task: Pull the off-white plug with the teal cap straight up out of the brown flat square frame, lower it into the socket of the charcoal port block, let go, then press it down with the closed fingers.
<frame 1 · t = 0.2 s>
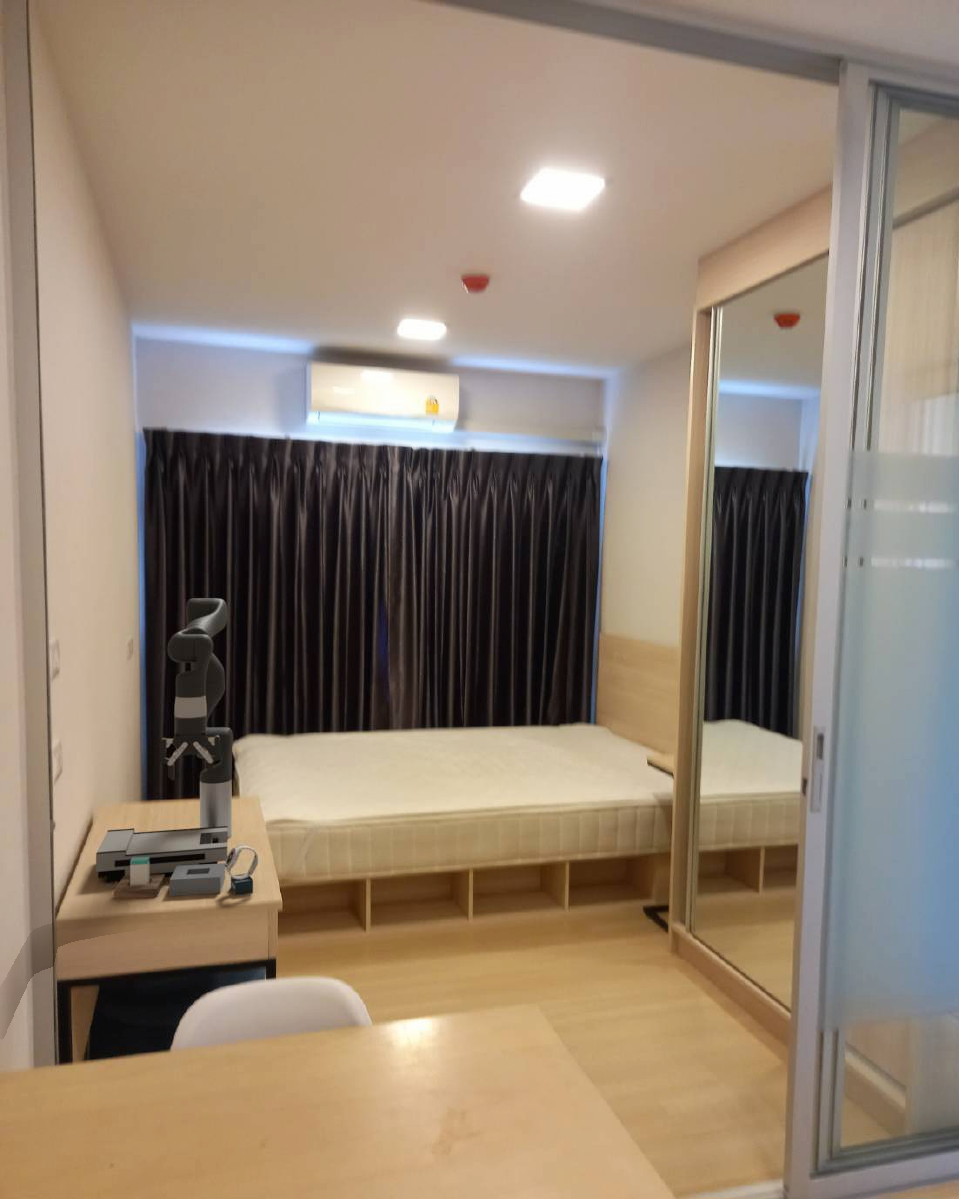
hand: (190, 778, 205), 28 cm above the table, tool pointing down, fingers open, 8 cm apart
plug: (139, 874, 205), in the brown flat square frame
brown flat square frame: (139, 890, 206), on the table
game console: (166, 867, 224), on the table
port block: (198, 886, 208), on the table
watch: (241, 891, 206), on the table
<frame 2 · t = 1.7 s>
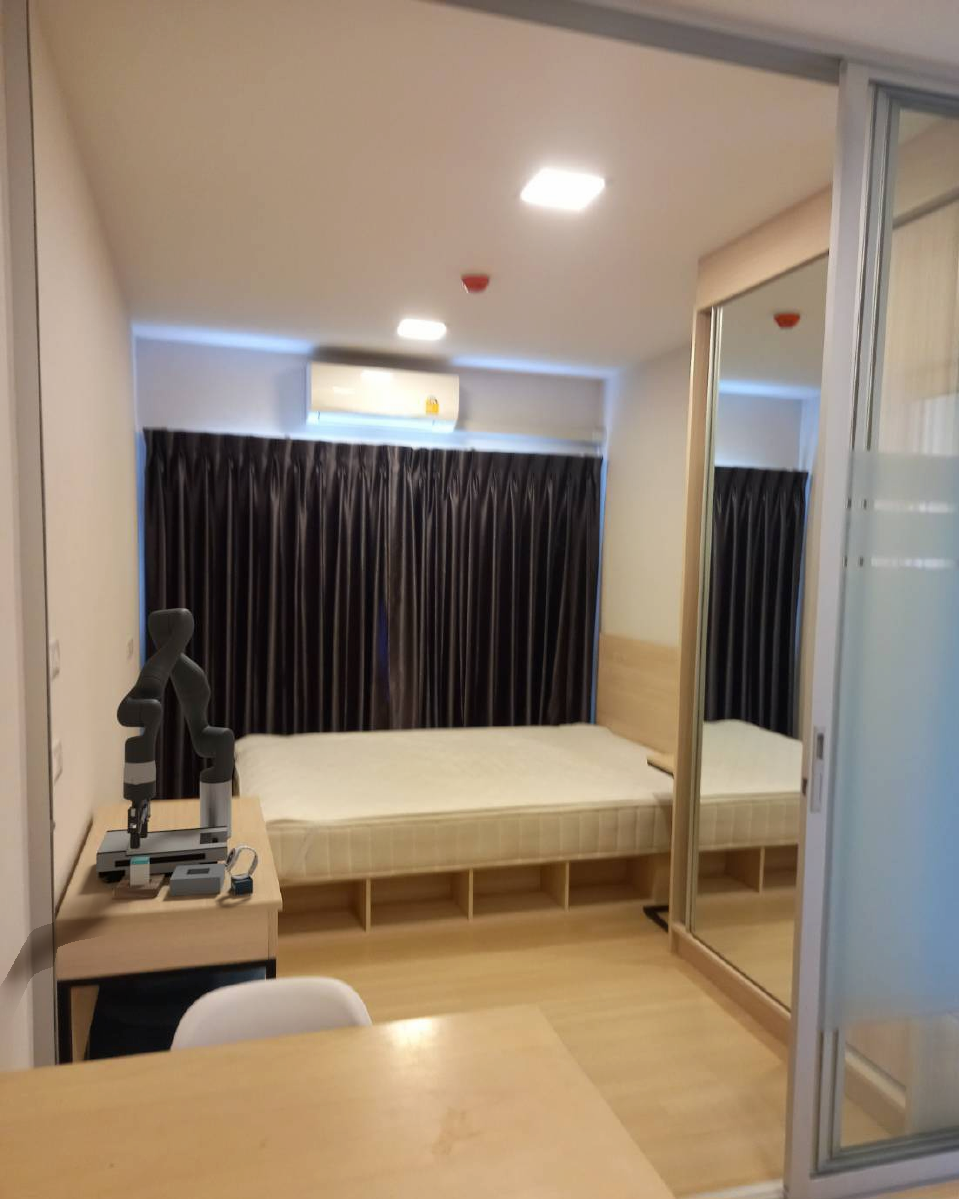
hand: (139, 843, 205), 12 cm above the table, tool pointing down, fingers open, 8 cm apart
nothing on the table moved.
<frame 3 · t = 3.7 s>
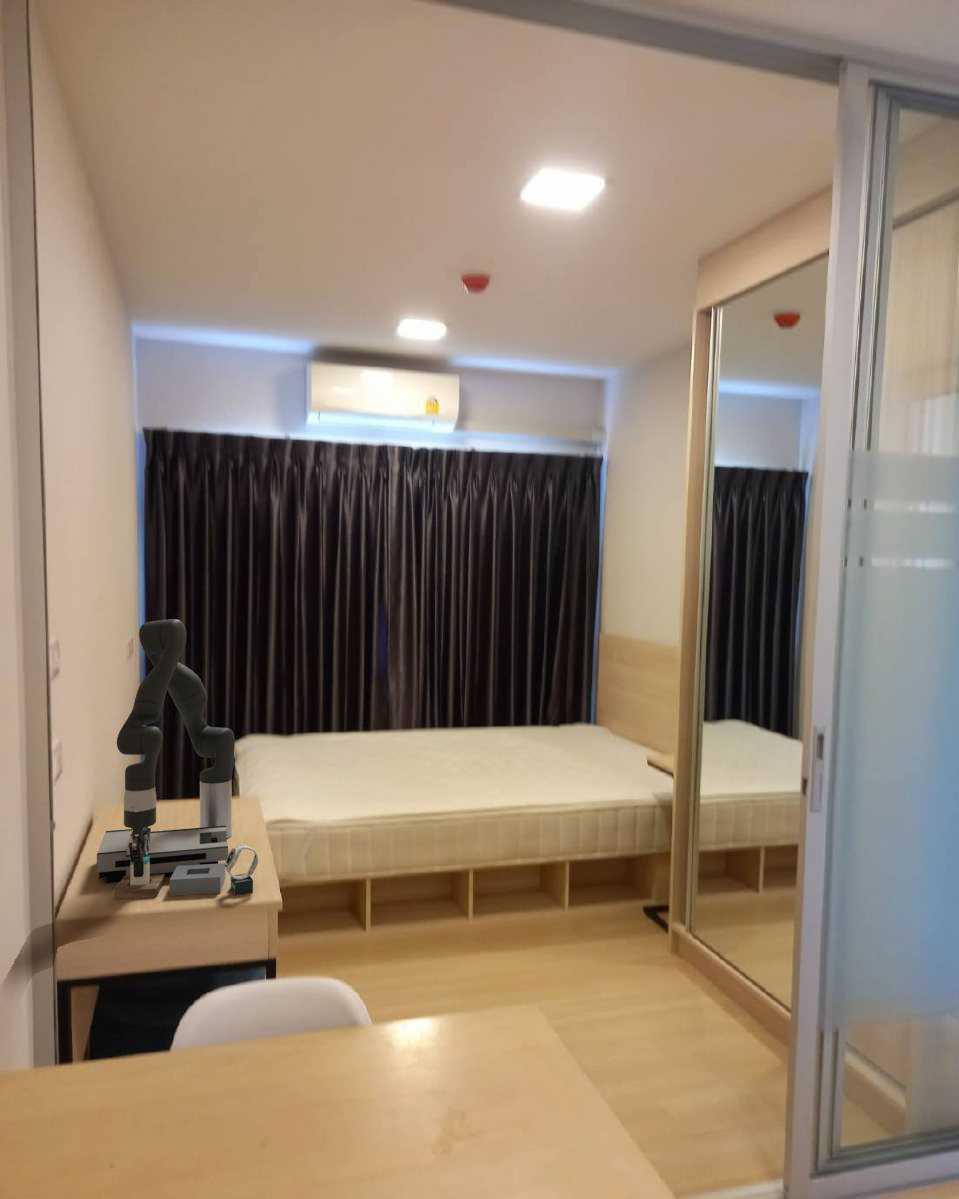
hand: (140, 874, 205), 4 cm above the table, tool pointing down, fingers closed on plug, 2 cm apart
plug: (140, 874, 205), in the brown flat square frame, touching gripper
everything else where it was.
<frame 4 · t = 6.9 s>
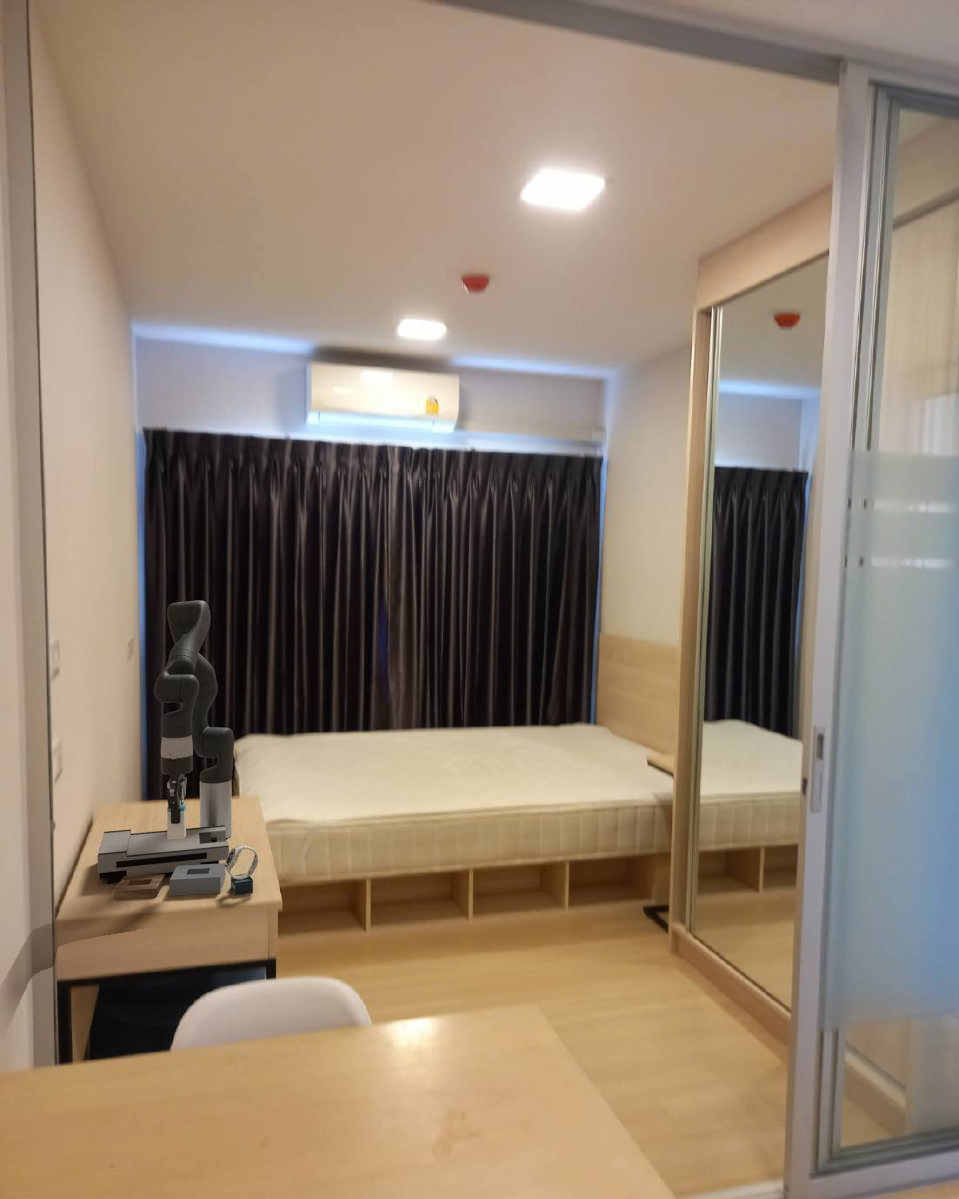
hand: (176, 821, 207), 17 cm above the table, tool pointing down, fingers closed on plug, 2 cm apart
plug: (176, 821, 207), point 17 cm above the table, touching gripper
everything else where it was.
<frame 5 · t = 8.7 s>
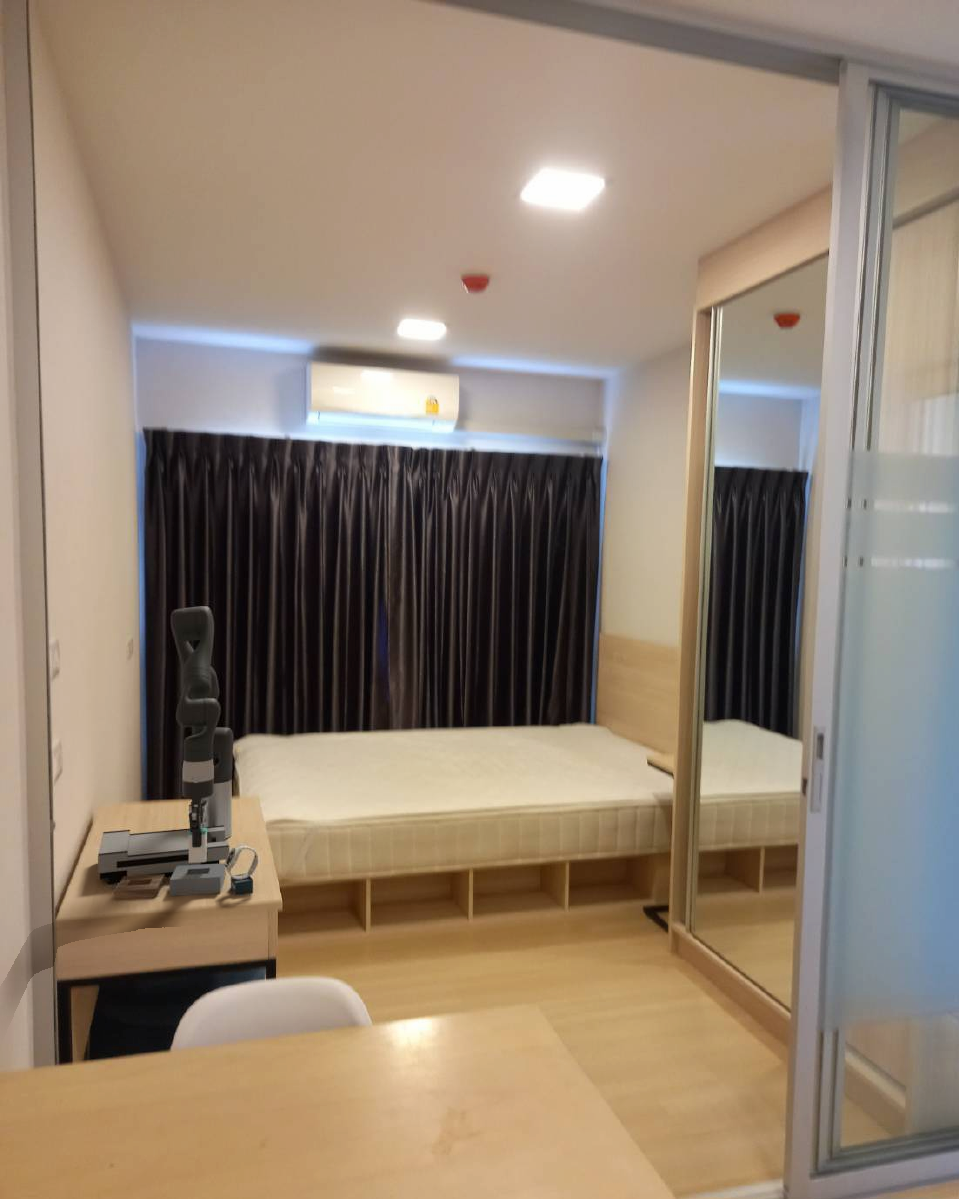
hand: (197, 844, 208), 11 cm above the table, tool pointing down, fingers closed on plug, 2 cm apart
plug: (197, 845, 208), point 11 cm above the table, touching gripper
everything else where it was.
when the fingers open (6 cm above the table, at t = 10.1 s): plug drops 2 cm, resting in port block.
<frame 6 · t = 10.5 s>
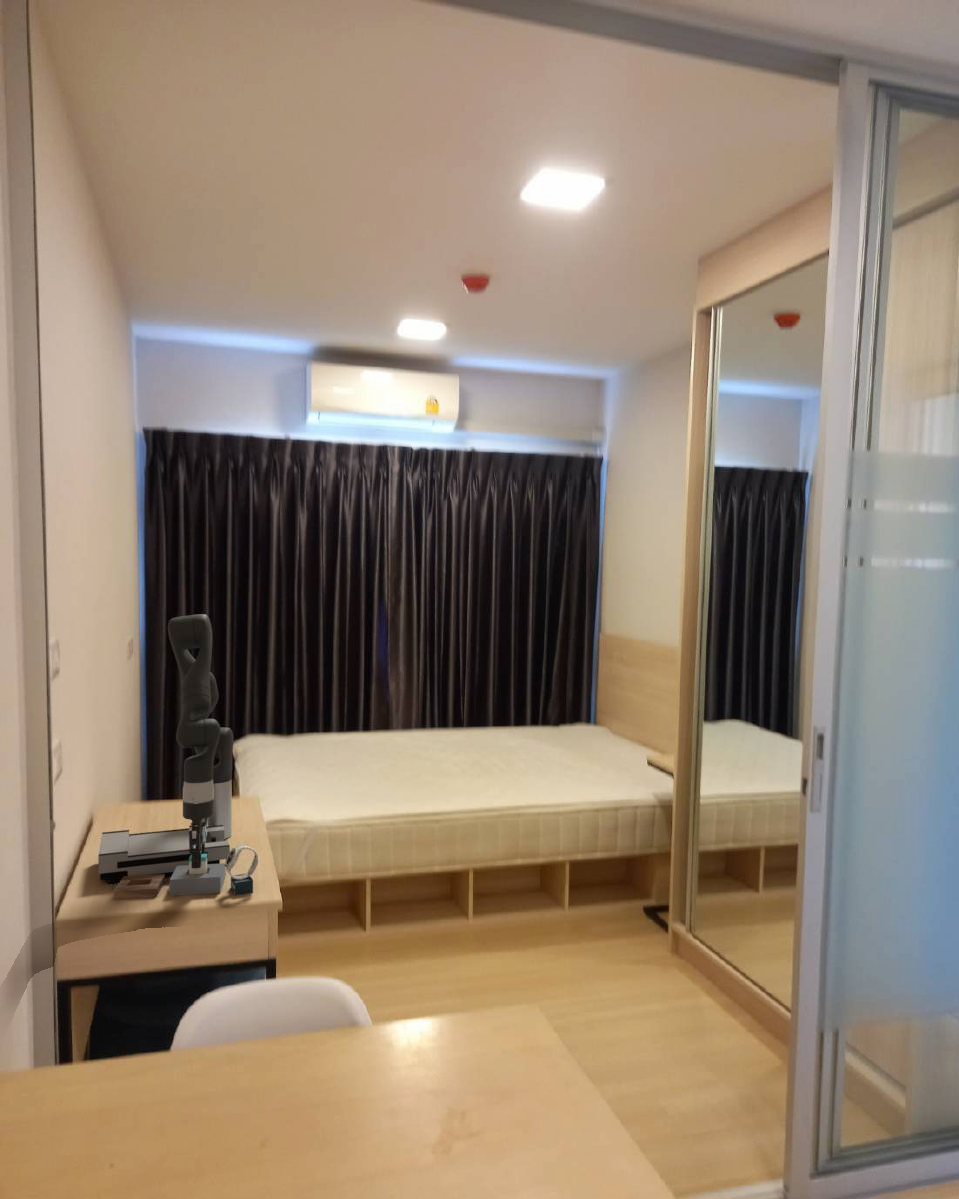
hand: (198, 863, 208), 6 cm above the table, tool pointing down, fingers open, 6 cm apart
plug: (198, 871, 208), in the port block
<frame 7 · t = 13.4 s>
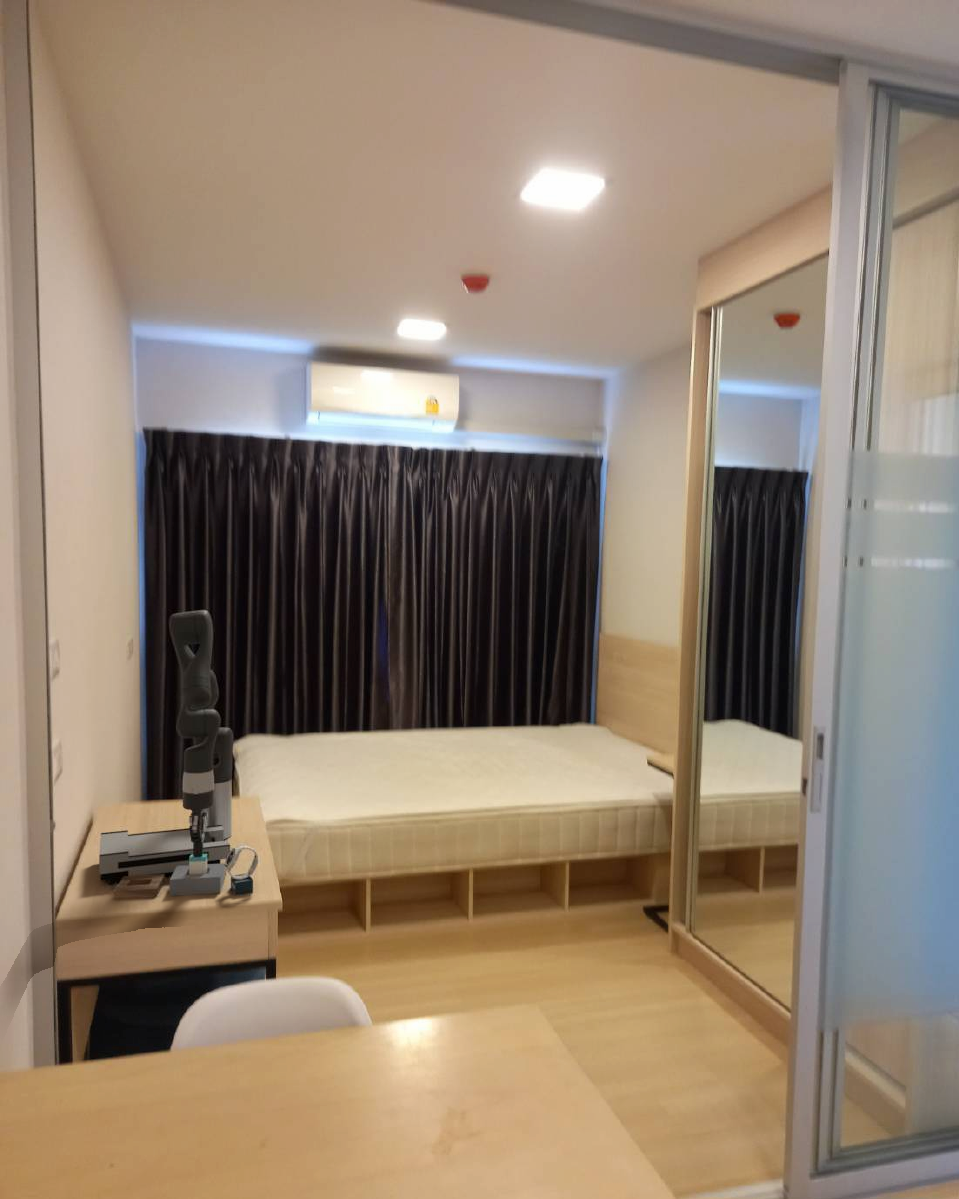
hand: (198, 855, 208), 8 cm above the table, tool pointing down, fingers closed
plug: (198, 871, 208), in the port block, touching gripper
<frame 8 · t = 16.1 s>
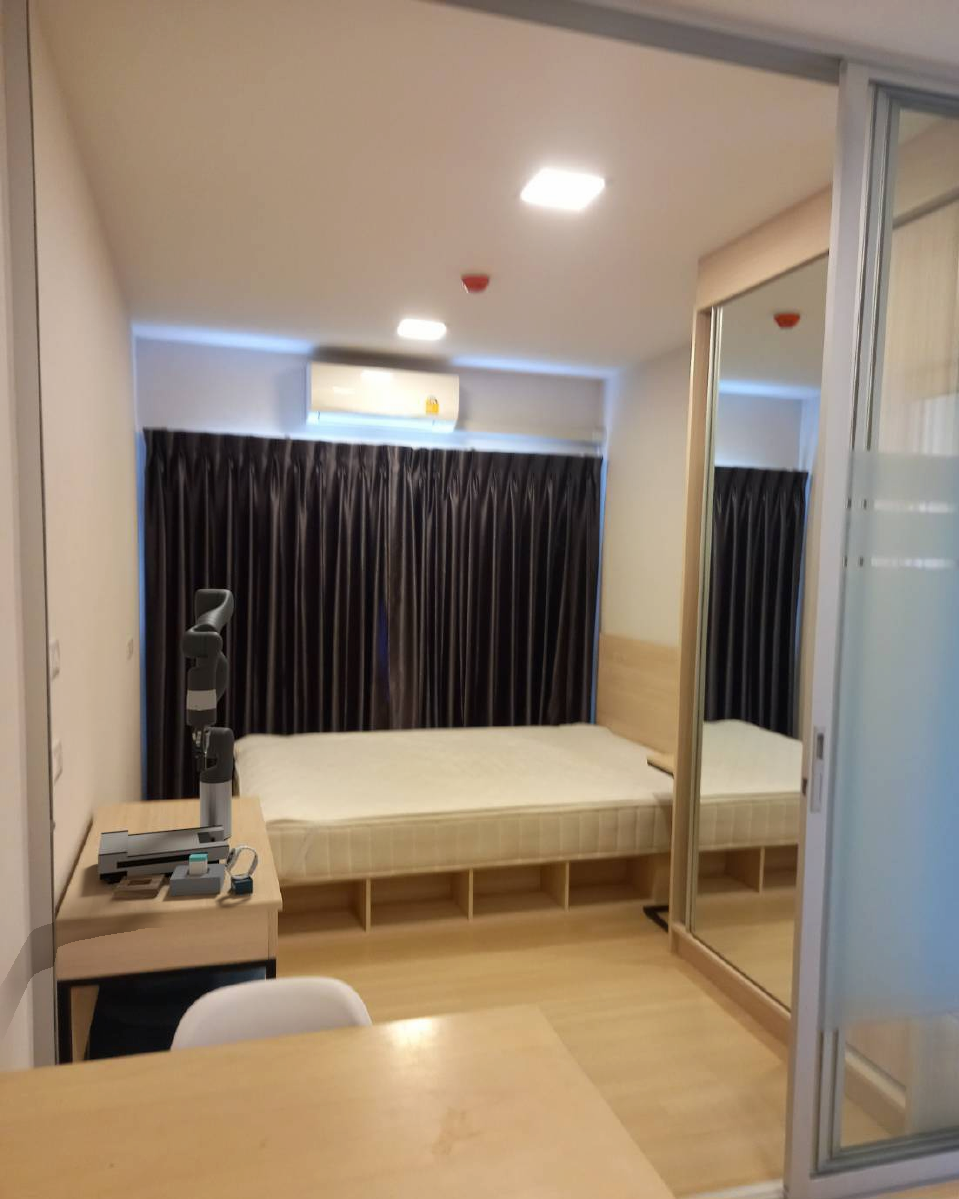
hand: (201, 770, 219), 27 cm above the table, tool pointing down, fingers closed
plug: (198, 871, 208), in the port block
at the end: plug 0.0 cm off-centre on the port block, point 4.0 cm above the port block's base; plug tilted 0°; the gripper is holding nothing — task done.
